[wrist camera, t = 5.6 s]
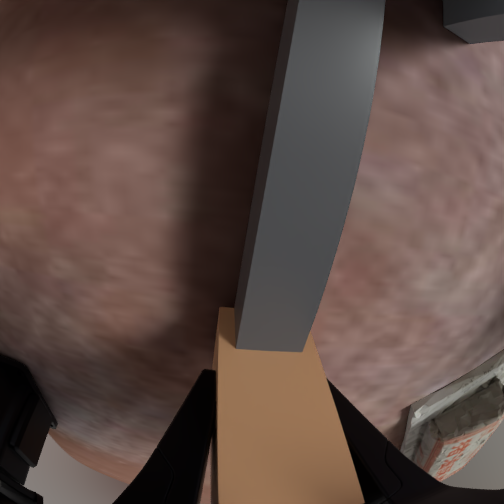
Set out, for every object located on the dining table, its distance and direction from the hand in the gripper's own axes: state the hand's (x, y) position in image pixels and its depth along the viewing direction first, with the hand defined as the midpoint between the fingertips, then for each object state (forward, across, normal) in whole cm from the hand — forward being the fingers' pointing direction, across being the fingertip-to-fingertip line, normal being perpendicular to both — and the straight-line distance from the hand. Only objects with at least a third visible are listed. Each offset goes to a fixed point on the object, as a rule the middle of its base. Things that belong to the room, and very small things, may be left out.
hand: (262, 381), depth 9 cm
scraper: (+2, 0, -7) cm, 7 cm away
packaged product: (+3, -20, +12) cm, 23 cm away
